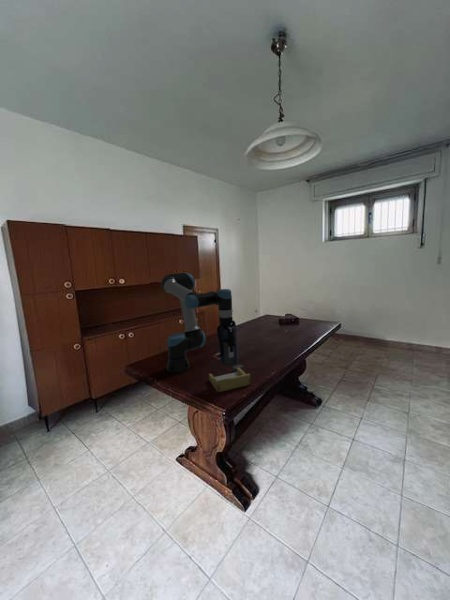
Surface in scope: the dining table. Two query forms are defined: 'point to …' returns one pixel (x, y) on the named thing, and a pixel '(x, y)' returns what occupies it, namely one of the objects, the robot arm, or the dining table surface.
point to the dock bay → (230, 380)
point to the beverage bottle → (224, 345)
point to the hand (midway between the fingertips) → (227, 353)
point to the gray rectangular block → (238, 367)
